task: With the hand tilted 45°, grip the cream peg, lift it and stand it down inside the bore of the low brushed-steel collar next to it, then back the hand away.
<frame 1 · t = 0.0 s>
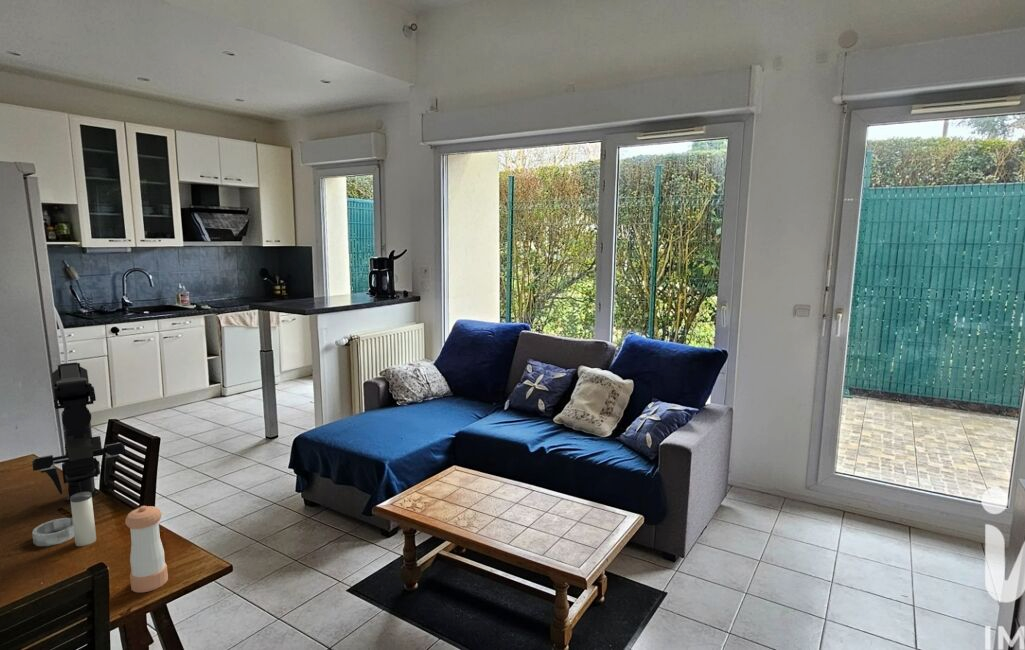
hand: (84, 489, 144), 15 cm above the table, fingers open, 9 cm apart
pepper shaker: (149, 583, 131), on the table
peg: (85, 541, 148), on the table
collar: (56, 536, 150), on the table
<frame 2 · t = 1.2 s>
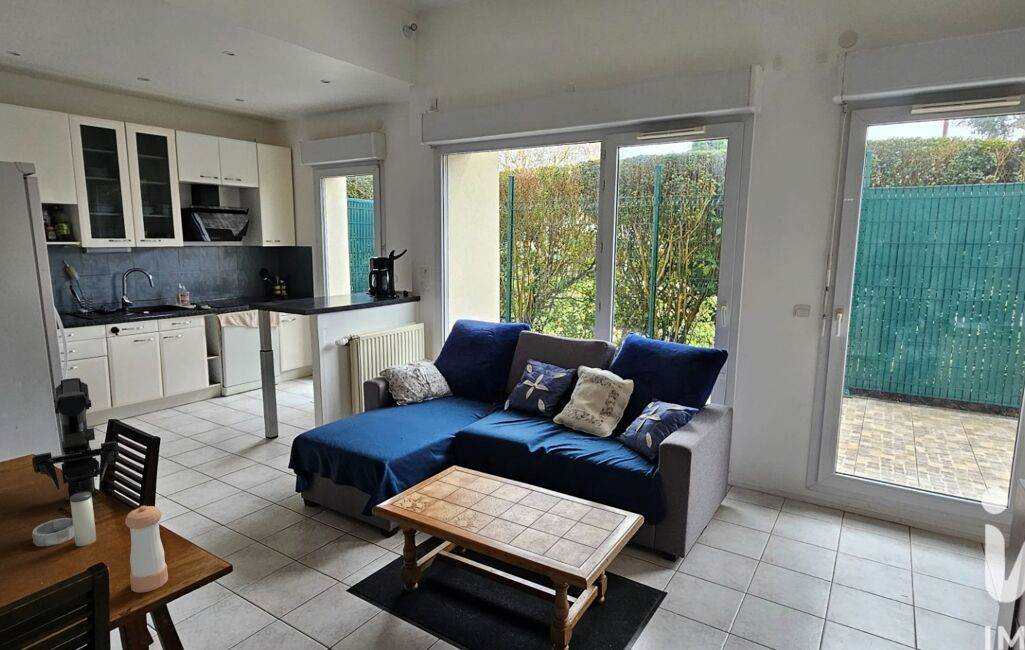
hand: (80, 484, 151), 13 cm above the table, fingers open, 9 cm apart
nothing on the table moved.
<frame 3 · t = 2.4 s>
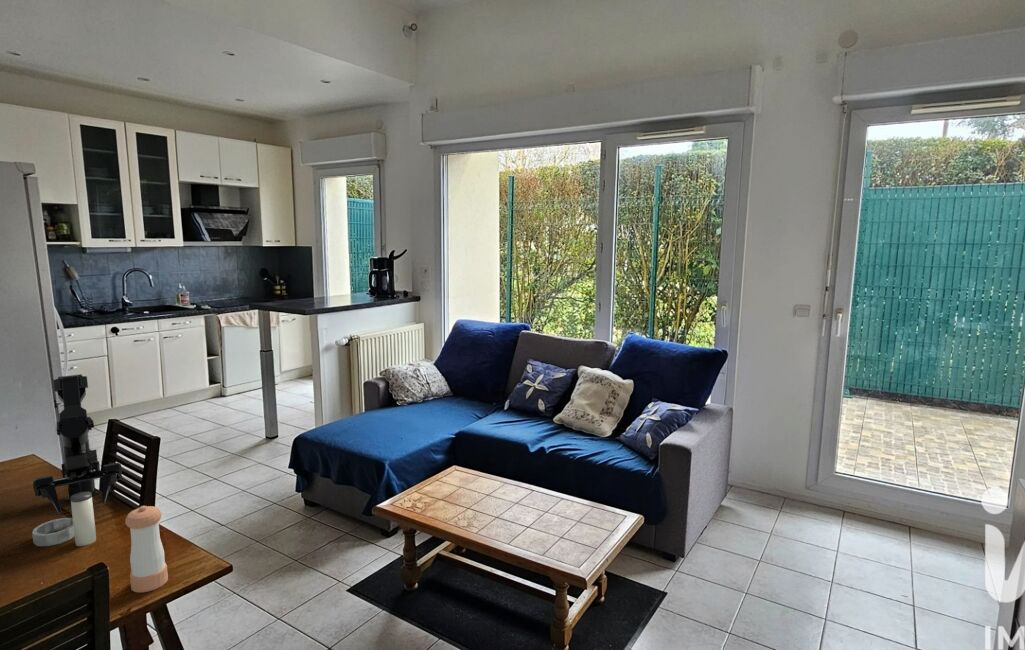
hand: (82, 508, 147), 9 cm above the table, fingers open, 9 cm apart
nothing on the table moved.
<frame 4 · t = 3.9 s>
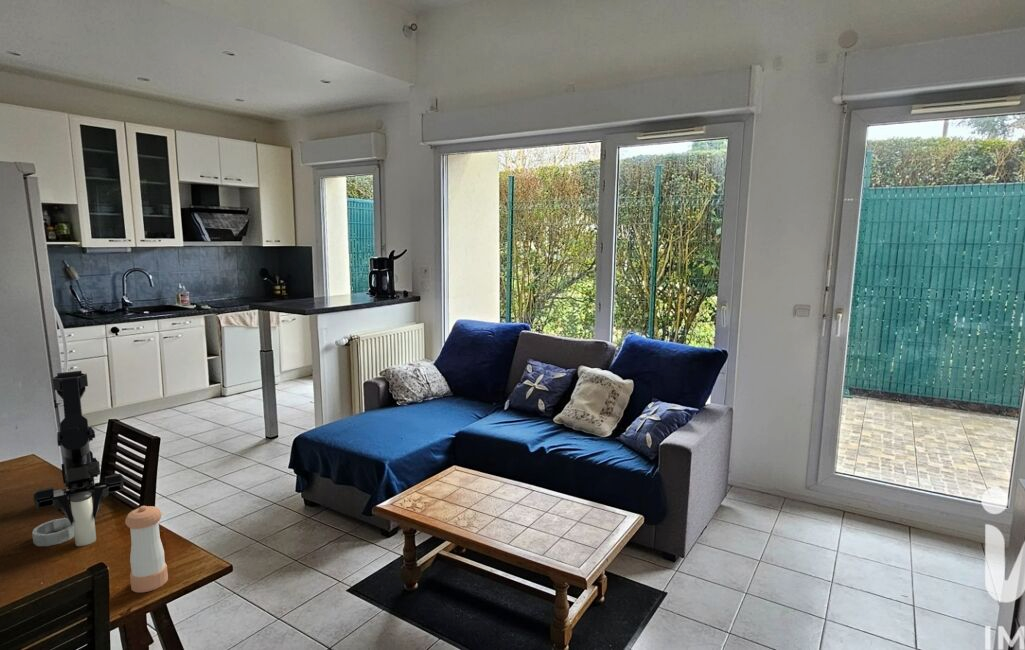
hand: (83, 520, 146), 7 cm above the table, fingers closed on peg, 4 cm apart
peg: (85, 541, 148), on the table, touching gripper
everything else where it was.
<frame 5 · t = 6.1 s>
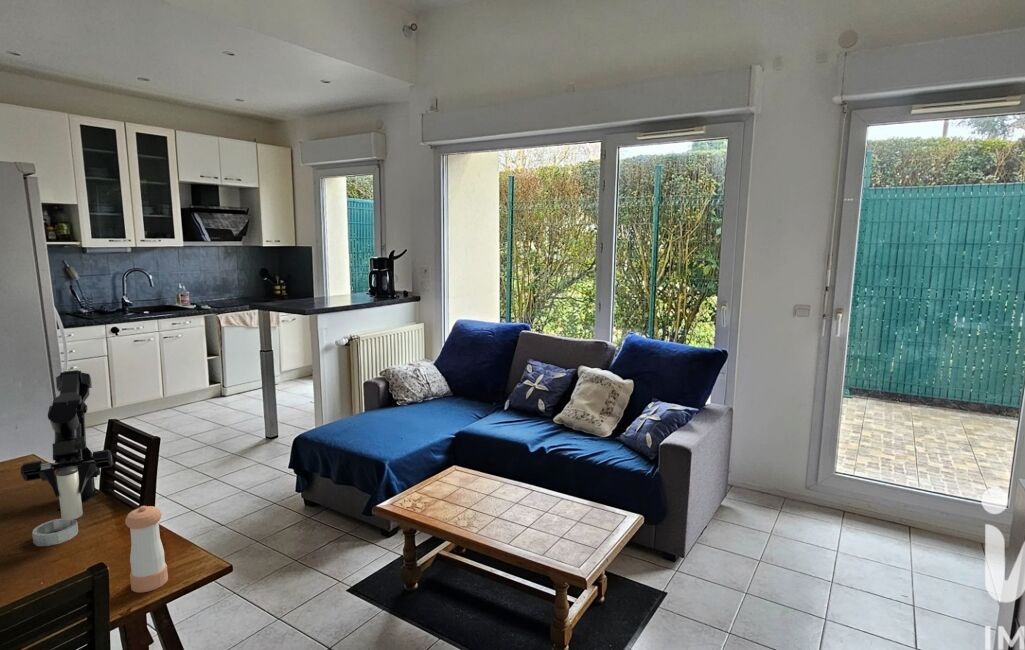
hand: (69, 494, 145), 13 cm above the table, fingers closed on peg, 4 cm apart
peg: (72, 516, 147), point 7 cm above the table, touching gripper
everything else where it was.
when the fingers open (7 cm above the table, at t = 8.6 s): peg stays where it is, resting in collar.
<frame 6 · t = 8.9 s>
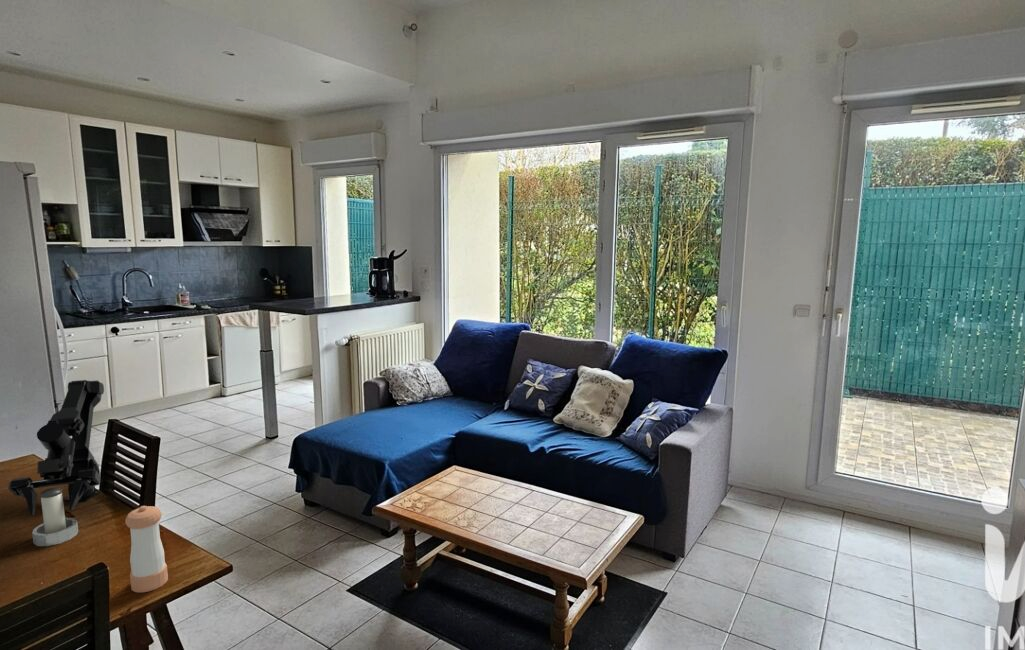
hand: (51, 512, 147), 8 cm above the table, fingers open, 8 cm apart
peg: (56, 536, 150), resting in collar
everything else where it was.
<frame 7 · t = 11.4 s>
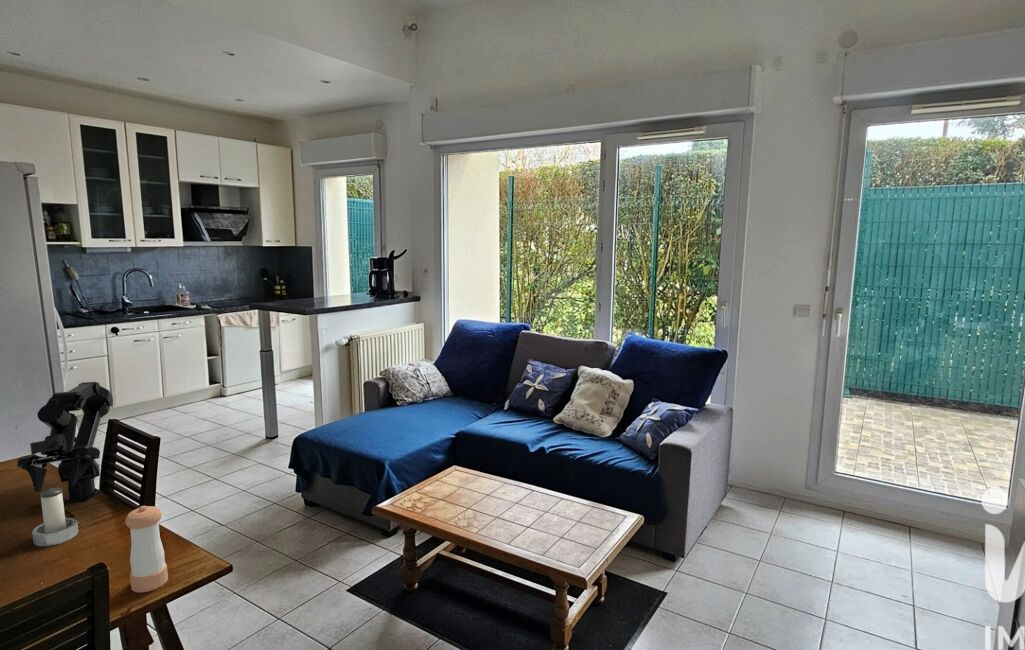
hand: (55, 488, 154), 11 cm above the table, fingers open, 9 cm apart
nothing on the table moved.
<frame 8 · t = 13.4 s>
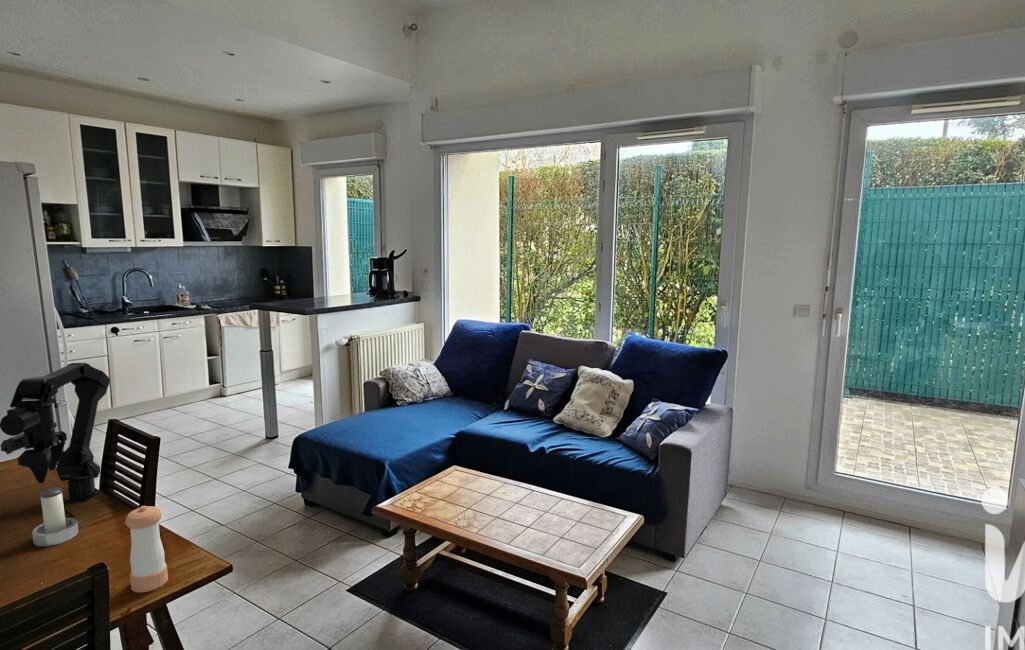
hand: (46, 476, 157), 13 cm above the table, fingers open, 9 cm apart
nothing on the table moved.
at the end: peg 0.1 cm off-centre on the collar, point 0.0 cm above the collar's base; peg tilted 0°; the gripper is holding nothing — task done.
